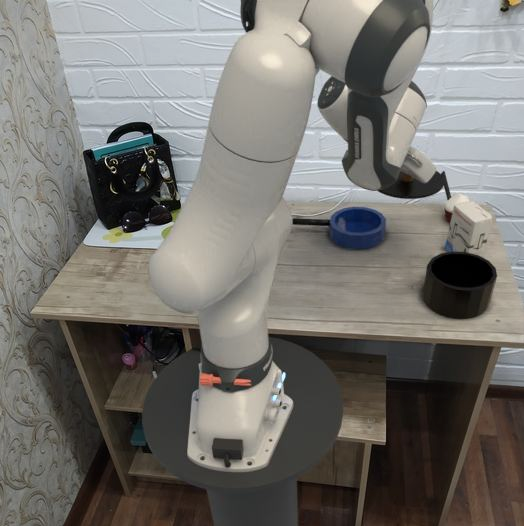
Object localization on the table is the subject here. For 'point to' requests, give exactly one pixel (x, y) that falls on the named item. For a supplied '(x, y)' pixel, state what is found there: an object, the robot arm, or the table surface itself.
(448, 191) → the cocoa
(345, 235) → the pan
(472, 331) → the table surface
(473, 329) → the table surface
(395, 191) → the lid
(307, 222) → the pan handle
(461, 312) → the pot
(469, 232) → the ink box
